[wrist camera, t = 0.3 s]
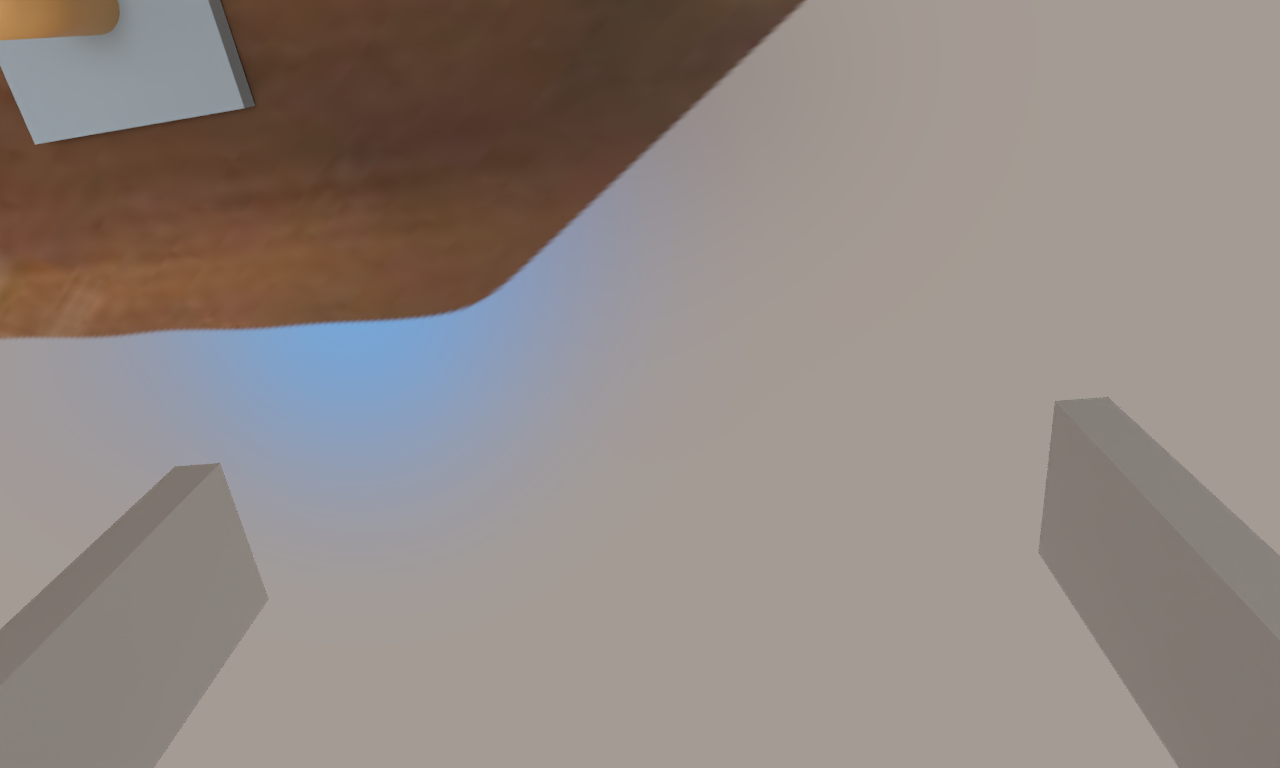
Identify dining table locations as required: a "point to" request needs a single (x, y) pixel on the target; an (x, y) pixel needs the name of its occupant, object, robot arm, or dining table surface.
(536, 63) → the dining table surface
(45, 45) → the keeper
